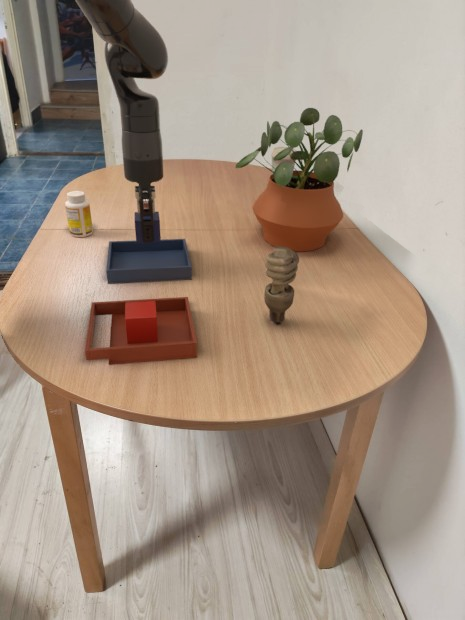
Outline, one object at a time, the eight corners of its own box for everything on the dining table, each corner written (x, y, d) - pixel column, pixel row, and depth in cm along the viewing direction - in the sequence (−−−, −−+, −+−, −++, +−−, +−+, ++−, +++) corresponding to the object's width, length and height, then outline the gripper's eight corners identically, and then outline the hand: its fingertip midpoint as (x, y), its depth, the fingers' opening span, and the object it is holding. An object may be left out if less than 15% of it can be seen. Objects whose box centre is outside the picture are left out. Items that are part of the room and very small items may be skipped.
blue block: (136, 243, 94) (134, 220, 91) (136, 234, 98) (134, 212, 95) (160, 243, 94) (159, 220, 92) (159, 233, 99) (158, 211, 96)
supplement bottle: (90, 227, 116) (85, 188, 110) (95, 236, 112) (90, 195, 106) (68, 230, 114) (61, 190, 108) (71, 239, 109) (65, 198, 104)
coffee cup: (264, 188, 149) (267, 150, 143) (272, 181, 156) (276, 145, 149) (289, 192, 147) (293, 154, 140) (296, 185, 153) (301, 148, 147)
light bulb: (282, 335, 80) (292, 258, 72) (254, 325, 82) (261, 250, 74) (295, 320, 84) (305, 246, 76) (268, 311, 86) (276, 238, 78)
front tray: (87, 366, 71) (84, 351, 69) (93, 316, 82) (91, 302, 81) (197, 357, 74) (197, 342, 72) (188, 310, 85) (187, 296, 84)
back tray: (107, 283, 92) (106, 270, 91) (110, 253, 104) (109, 241, 102) (191, 279, 95) (191, 266, 94) (185, 250, 107) (185, 238, 105)
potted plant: (355, 255, 109) (383, 122, 93) (242, 264, 102) (251, 123, 86) (317, 219, 127) (335, 104, 111) (219, 225, 121) (223, 103, 104)
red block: (127, 343, 75) (124, 318, 72) (127, 326, 79) (125, 302, 77) (157, 341, 76) (156, 316, 73) (156, 324, 80) (155, 300, 77)
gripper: (164, 163, 81) (168, 250, 91) (160, 144, 93) (164, 222, 102) (121, 164, 80) (129, 251, 89) (123, 144, 92) (130, 223, 101)
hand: (148, 235), depth 96 cm, fingers closed on blue block, 5 cm apart
